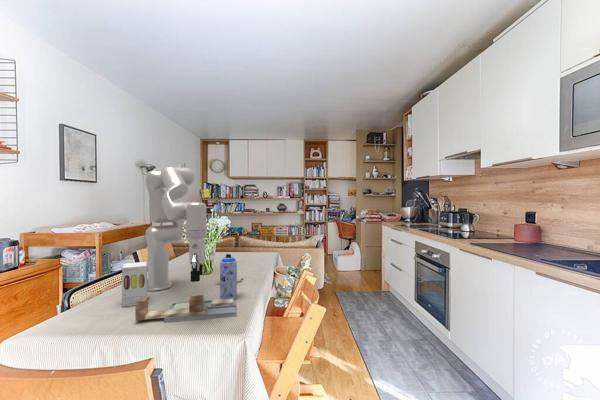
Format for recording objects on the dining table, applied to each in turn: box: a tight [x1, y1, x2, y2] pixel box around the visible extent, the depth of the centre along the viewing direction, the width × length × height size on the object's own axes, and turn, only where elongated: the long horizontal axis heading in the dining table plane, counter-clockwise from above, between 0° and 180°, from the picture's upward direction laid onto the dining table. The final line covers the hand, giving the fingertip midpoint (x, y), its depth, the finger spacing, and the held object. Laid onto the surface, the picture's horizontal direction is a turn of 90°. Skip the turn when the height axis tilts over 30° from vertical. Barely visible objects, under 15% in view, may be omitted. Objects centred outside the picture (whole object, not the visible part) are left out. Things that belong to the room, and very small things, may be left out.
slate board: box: [163, 298, 237, 324], centre depth 118 cm, size 26×16×1 cm, turn 103°
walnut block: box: [188, 294, 205, 313], centre depth 114 cm, size 5×5×5 cm
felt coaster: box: [173, 302, 189, 310], centre depth 120 cm, size 6×6×1 cm
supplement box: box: [121, 261, 148, 308], centre depth 127 cm, size 10×9×17 cm
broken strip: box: [211, 299, 233, 307], centre depth 123 cm, size 16×5×1 cm, turn 103°
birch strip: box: [134, 295, 208, 322], centre depth 112 cm, size 25×5×7 cm, turn 103°
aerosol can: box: [219, 253, 238, 300], centre depth 134 cm, size 8×8×20 cm
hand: (196, 277), depth 113 cm, fingers open, 9 cm apart
